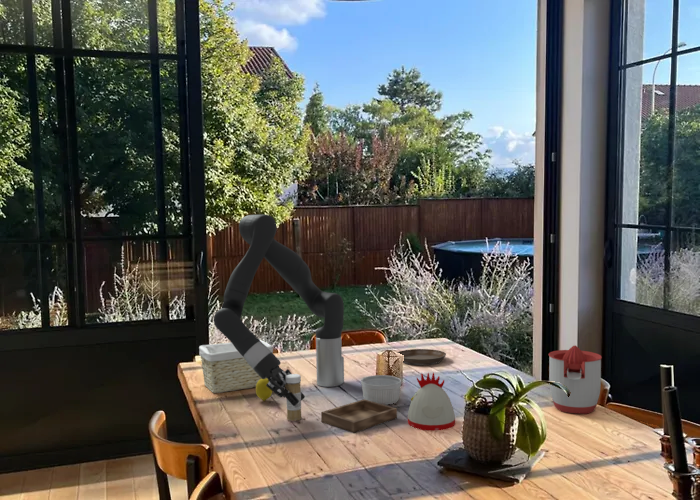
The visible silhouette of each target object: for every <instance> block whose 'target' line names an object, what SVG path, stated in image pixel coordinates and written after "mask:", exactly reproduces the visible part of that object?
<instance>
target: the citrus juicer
mask: <svg viewBox="0 0 700 500" xmlns="http://www.w3.org/2000/svg"><path fill="white" fill-rule="evenodd" d="M548 356H549V358H548V359H549V361H548V363H549V369H548V371H549V374H548V375H549V377H548V381H555V382H560V383H562V384H564V385H565V386H567V387H568V389H569V390H570V392H571V394H570V396H569V397H568V396H567V394H566V393H565V392H564V391H562V390H561V389H559V388H557V387H555V386H552V385H550V384H549V389H550V395H551V398H552V402H553V405H554V407H555V409H557V410H558V411H560V412H563V413H568V414H569V413H571V414H584V415H588V414H589V413H593V412H594V411H595V409H596V408H597V404H598V401H599V398H600V394H601V387H602V386H601V384H602V382H601V381H602V380H601V379H602V371H601V370H602V369H601V368H602V358H603V357H602V355H601V354H599V353H596V352H594V351H593V352H592V351H587V350H581V349H580V348H579V347H578V346H577V345H575V344H574V345H572V346H571V347H569V349H560V350H558V349H557V350H553V351H550V352H549V353H548Z"/></svg>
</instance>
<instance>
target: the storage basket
mask: <svg viewBox="0 0 700 500" xmlns="http://www.w3.org/2000/svg"><path fill="white" fill-rule="evenodd" d="M258 339H259V338H258ZM259 340H260V341H261V342H262V343H263V344H264V345H265V346H266V347H267V348H268V349H269V350H270V351H271V352H272V353H273V352H274V349H273V346H272V345H271V344H269V343H268V342H266V341H264V340H261V339H259ZM198 349H199V351H198V352H199V356H200V361H201V366H202V374H203V375H202V376H203V382H204V386H205V387H206V388H207V389H208V390H209V391H210V392H211V393H213V394H221V393H222V394H223V393H226V392H231V391H232V392H235V391H238V390H246V389H252V388H256V384H257V382H258V381H259V380H260V379H262V378H261V377H260V376H259V375H258V374H257V373H256V372H255V371H254V369H253V368H252V367H251V366H250V365H249V364H248V363H247V361H246V360H245V358H244V357H243V356H242V355H241V354H240V353H239V352H238V351H237V349H236V348H235V347H234V345H233V344H232V342H231V341H230V342H223V343H215V344H214V343H212V344H202V345H199V347H198ZM273 354H274V353H273Z"/></svg>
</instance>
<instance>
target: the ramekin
mask: <svg viewBox="0 0 700 500" xmlns="http://www.w3.org/2000/svg"><path fill="white" fill-rule="evenodd" d="M360 383H361V387H362V389H361V390H362V396H363V399H365V400H369V401H372V402H376V403H379V404H383V405H386V406H389V405H388V404H390V405H394V404H396V403H397V402H398V401H399V399H400V393H401V386H402V380H401V378H399V377H396V376H393V375H387V374H386V375H383V374H380V375H379V374H377V375H376V374H375V375H369V376H366V377H363V378H362V379H361V381H360ZM393 403H394V404H393Z"/></svg>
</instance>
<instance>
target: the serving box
mask: <svg viewBox="0 0 700 500" xmlns="http://www.w3.org/2000/svg"><path fill="white" fill-rule="evenodd" d="M320 414H321V415H320V416H321V422H322V423H323V424H326V425H328V426H329V425H330V426H332V427H335V428H337V429H340V430H344V431H347V432H350V433H352V434H356V433H359V432H361V431H364V430H368V429H370V428H373V427H376V426H378V424H379V425H381V423H382V424H384V422H385V423H387V421H388V422H389V421H392V420H396V419H397V418H398V408H396V407H393V406H389V405H383V404H379V403H376V402H372V401H369V400H365V399H364V398H363V399H360V400H358V401H354V402H350V403H346V404H344V405H340V406H337V407H333V408H331V409H326V410H324V411H320ZM395 418H396V419H395ZM375 425H376V426H375Z"/></svg>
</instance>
